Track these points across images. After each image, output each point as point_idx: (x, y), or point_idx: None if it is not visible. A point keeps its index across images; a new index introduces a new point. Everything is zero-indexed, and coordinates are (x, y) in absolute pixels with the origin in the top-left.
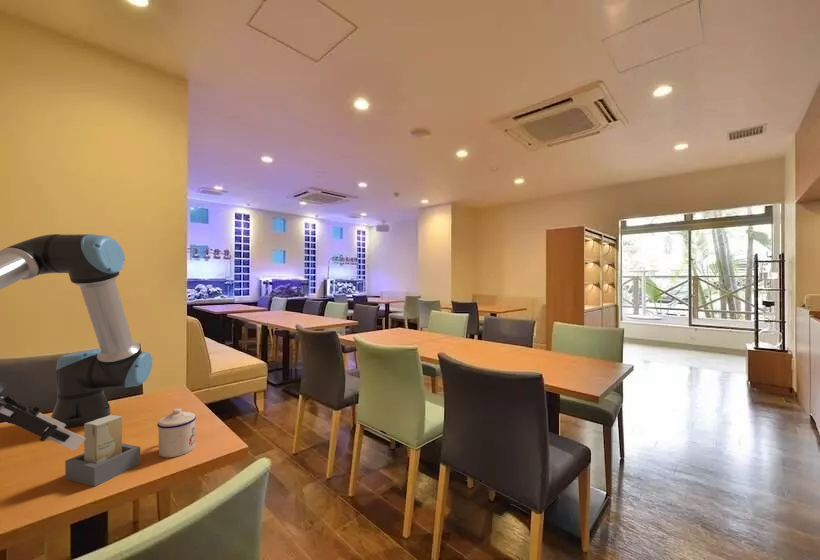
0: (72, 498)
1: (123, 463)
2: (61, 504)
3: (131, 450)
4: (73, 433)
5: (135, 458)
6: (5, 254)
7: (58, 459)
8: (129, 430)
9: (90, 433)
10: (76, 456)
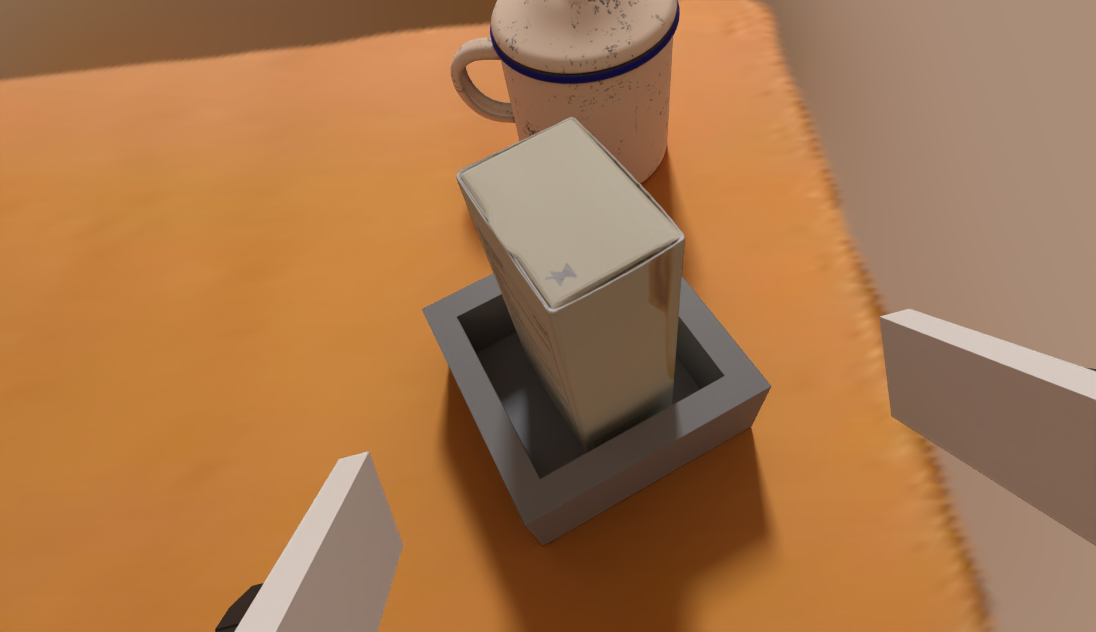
0: (823, 515)
1: None
2: (864, 561)
3: None
4: (1006, 345)
5: None
6: None
7: (222, 582)
8: (162, 286)
9: (631, 315)
10: (506, 469)
